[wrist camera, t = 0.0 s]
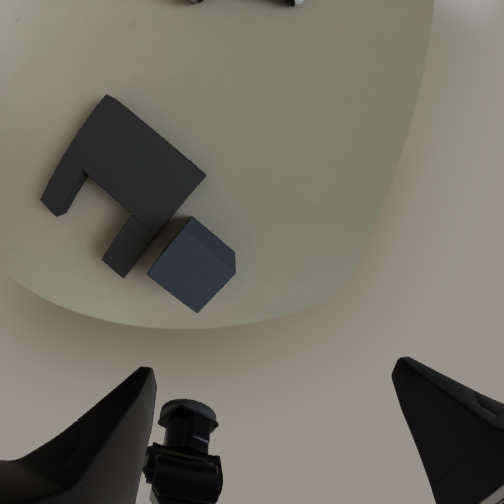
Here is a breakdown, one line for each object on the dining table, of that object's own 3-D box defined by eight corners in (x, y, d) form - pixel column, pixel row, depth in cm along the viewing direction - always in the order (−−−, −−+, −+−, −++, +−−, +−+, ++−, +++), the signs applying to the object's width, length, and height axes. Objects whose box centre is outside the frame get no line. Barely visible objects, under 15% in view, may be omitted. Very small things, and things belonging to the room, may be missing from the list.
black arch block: (130, 270, 26) (123, 278, 24) (50, 196, 22) (39, 200, 20) (206, 175, 23) (204, 176, 21) (114, 98, 20) (105, 93, 18)
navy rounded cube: (202, 287, 27) (197, 313, 22) (160, 253, 25) (146, 274, 20) (235, 252, 26) (236, 273, 21) (192, 215, 24) (182, 228, 20)
